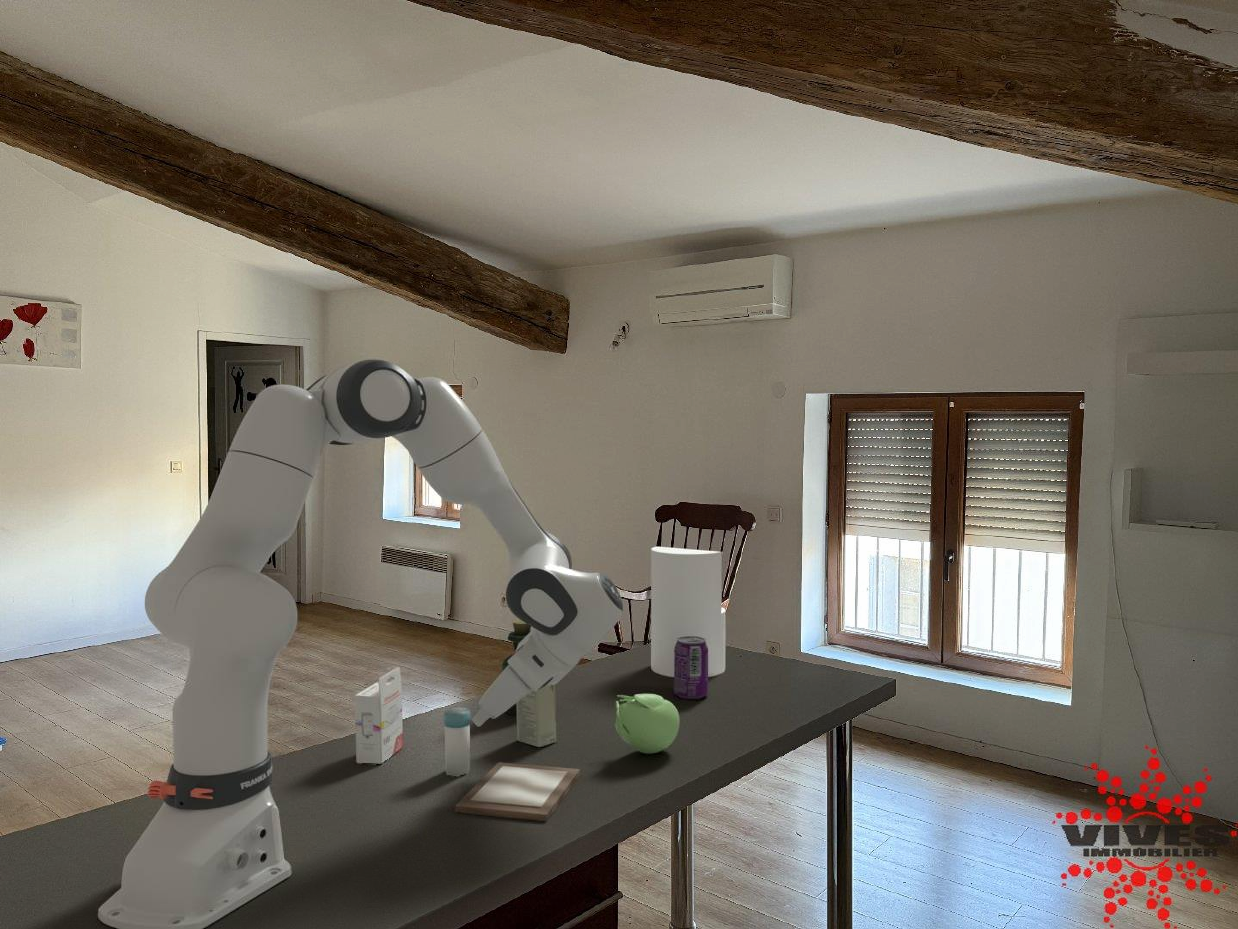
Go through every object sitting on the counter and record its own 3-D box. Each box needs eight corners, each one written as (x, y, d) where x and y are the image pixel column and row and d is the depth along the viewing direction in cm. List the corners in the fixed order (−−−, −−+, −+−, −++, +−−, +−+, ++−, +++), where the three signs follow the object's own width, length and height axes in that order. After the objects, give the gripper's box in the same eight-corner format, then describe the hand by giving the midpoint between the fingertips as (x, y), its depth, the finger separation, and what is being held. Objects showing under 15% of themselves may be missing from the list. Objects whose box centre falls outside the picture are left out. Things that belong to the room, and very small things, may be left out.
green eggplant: (631, 738, 169) (631, 678, 168) (687, 749, 163) (687, 687, 163) (597, 759, 158) (597, 695, 158) (655, 771, 153) (655, 705, 152)
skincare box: (557, 742, 166) (557, 675, 166) (539, 748, 163) (538, 679, 163) (533, 734, 171) (532, 668, 170) (515, 740, 168) (514, 673, 167)
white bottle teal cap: (464, 777, 150) (464, 716, 149) (440, 775, 151) (440, 714, 150) (474, 768, 154) (474, 708, 153) (450, 766, 155) (450, 707, 154)
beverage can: (713, 694, 196) (714, 638, 196) (698, 703, 190) (698, 644, 190) (684, 689, 200) (684, 634, 199) (668, 697, 194) (668, 640, 193)
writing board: (546, 821, 133) (546, 813, 133) (455, 812, 136) (455, 804, 136) (579, 775, 151) (579, 768, 151) (498, 768, 154) (498, 761, 154)
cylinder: (703, 682, 205) (703, 556, 204) (637, 671, 215) (637, 550, 214) (737, 665, 220) (738, 547, 219) (674, 655, 229) (674, 542, 228)
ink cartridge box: (377, 746, 164) (376, 664, 164) (403, 748, 163) (402, 665, 163) (354, 763, 156) (353, 677, 155) (381, 766, 155) (380, 678, 154)
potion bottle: (533, 719, 179) (532, 627, 178) (495, 715, 182) (494, 624, 181) (549, 707, 187) (549, 619, 186) (512, 703, 189) (512, 616, 189)
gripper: (550, 628, 158) (496, 681, 161) (509, 657, 139) (449, 717, 141) (575, 655, 158) (521, 708, 160) (538, 688, 138) (476, 748, 140)
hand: (487, 713), depth 151 cm, fingers open, 8 cm apart
